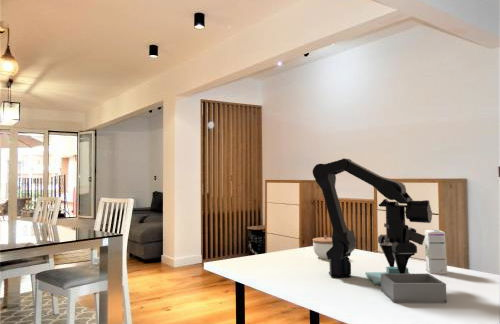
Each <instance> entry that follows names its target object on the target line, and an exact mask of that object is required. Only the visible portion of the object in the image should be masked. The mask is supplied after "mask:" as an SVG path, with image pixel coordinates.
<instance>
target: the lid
mask: <svg viewBox="0 0 500 324" xmlns="http://www.w3.org/2000/svg"><path fill="white" fill-rule="evenodd" d="M385 268H386V269H385V270H386V272H384V271H383V272H382V271H381V272H378V271H377V272H367V271H366V272H365V277H367V278H368V279H369V280H370V281H372V283H374V284H375V285H379V286H381V274H400V273H399V270H398V267H397V266H394V267H390V266H386V267H385ZM404 274H411V272H409V268H408V267H407V266H406V269H405V273H404Z"/></svg>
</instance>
